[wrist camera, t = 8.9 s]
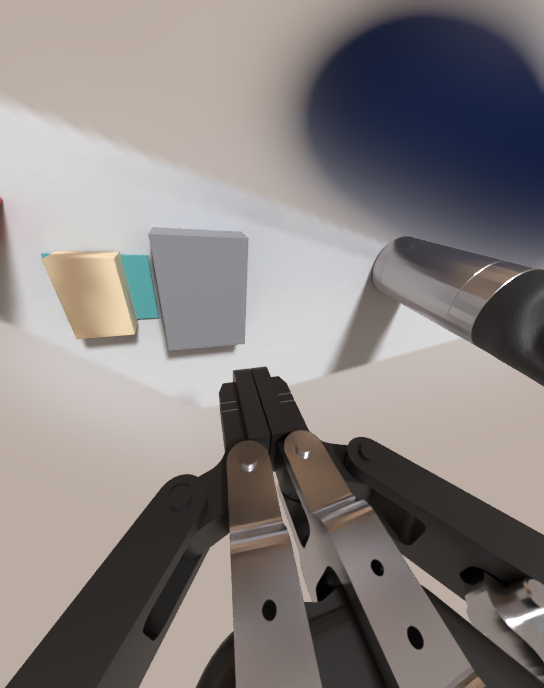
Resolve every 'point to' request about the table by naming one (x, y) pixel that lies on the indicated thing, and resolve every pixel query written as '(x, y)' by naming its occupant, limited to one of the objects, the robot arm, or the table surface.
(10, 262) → the table surface
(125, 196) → the table surface
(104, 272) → the maple tile
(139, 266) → the teal rubber mat
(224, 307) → the grey rectangular block
